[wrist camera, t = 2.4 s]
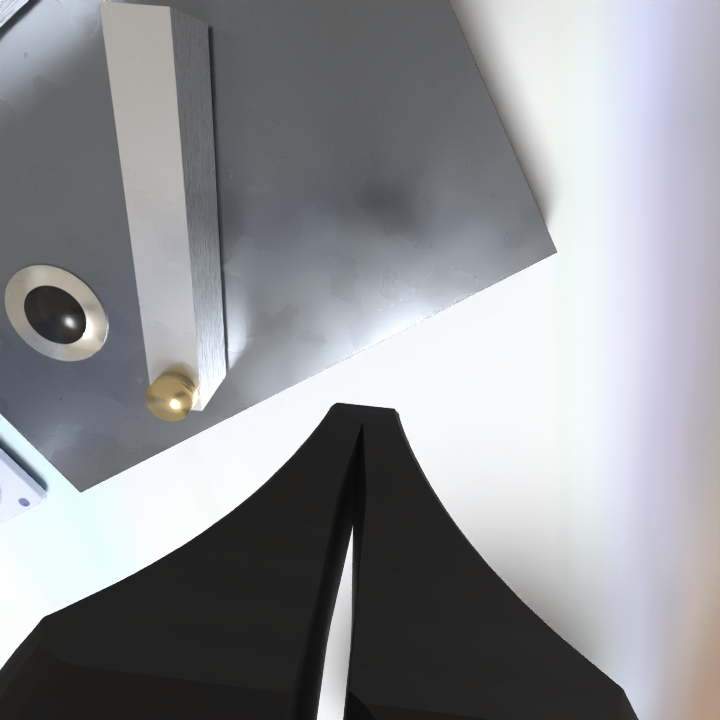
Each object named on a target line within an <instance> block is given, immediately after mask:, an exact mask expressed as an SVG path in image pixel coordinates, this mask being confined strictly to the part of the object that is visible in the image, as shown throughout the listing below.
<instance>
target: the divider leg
mask: <svg viewBox="0 0 720 720" xmlns="http://www.w3.org/2000/svg"><path fill="white" fill-rule="evenodd" d="M99 3H100V11H101V19H102V26H103V34H104V41H105V49H106V56H107V64H108V72H109V79H110V87H111V94H112V102H113V109H114V117H115V125H116V132H117V140H118V147H119V155H120V162H121V170H122V177H123V185H124V193H125V200H126V208H127V215H128V223H129V230H130V238H131V246H132V253H133V261H134V268H135V276H136V283H137V291H138V299H139V306H140V314H141V321H142V329H143V336H144V344H145V352H146V359H147V367H148V374H149V382H150V386H149V387H148V388H147V390H146V392H145V403H146V405H147V407H148V409H149V410H150V411H151V412H152V413H153V414H154V415H155V416H156V417H158V418H160V419H162V420H165V421H171V422H174V421H179V420H182V419H184V418H185V417H186V416H187V415H188V413H189V412H190V411H191V410H198V411H202V410H203V409H204V407H205V406H206V404H207V403H208V401H209V400H210V398H211V397H212V395H213V394H214V393H215V391H216V390H217V388H218V387H219V385H220V384H221V382H222V381H223V379H224V378H225V376H226V363H225V344H224V325H223V306H222V287H221V268H220V249H219V230H218V211H217V192H216V173H215V154H214V135H213V116H212V97H211V78H210V59H209V40H208V24H207V23H205V22H203V21H201V20H198V19H196V18H194V17H192V16H189V15H187V14H185V13H183V12H180V11H178V10H176V9H174V8H171V7H167V6H154V5H141V4H128V3H115V2H102V1H99Z"/></svg>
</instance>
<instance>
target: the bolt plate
mask: <svg viewBox="0 0 720 720" xmlns="http://www.w3.org/2000/svg"><path fill="white" fill-rule="evenodd" d="M99 1H102V2H115V3H128V4H141V5H154V6H167V7H171V8H174V9H176V10H178V11H180V12H183V13H185V14H187V15H189V16H192V17H194V18H196V19H198V20H201V21H203V22H205V23H207V24H208V40H209V59H210V78H211V97H212V116H213V135H214V154H215V173H216V192H217V211H218V230H219V249H220V268H221V287H222V306H223V325H224V344H225V363H226V376H225V378H224V379H223V381H222V382H221V384H220V385H219V387H218V388H217V390H216V391H215V393H214V394H213V395H212V397H211V398H210V400H209V401H208V403H207V404H206V406H205V407H204V409H203V410H202V411H198V410H191V411H190V412H189V413H188V415H187V416H186V417H185V418H184V419H182V420H179V421H174V422H171V421H165V420H162V419H160V418H158V417H156V416H155V415H154V414H153V413H152V412H151V411H150V410H149V409H148V407H147V405H146V403H145V392H146V390H147V388H148V387H149V386H150V382H149V374H148V367H147V359H146V352H145V344H144V336H143V329H142V321H141V314H140V306H139V299H138V291H137V283H136V276H135V268H134V261H133V253H132V246H131V238H130V230H129V223H128V215H127V208H126V200H125V193H124V185H123V177H122V170H121V162H120V155H119V147H118V140H117V132H116V125H115V117H114V109H113V102H112V94H111V87H110V79H109V72H108V64H107V56H106V49H105V41H104V34H103V26H102V19H101V11H100V3H99ZM555 253H557V250H556V248H555V246H554V243H553V241H552V239H551V236H550V234H549V232H548V229H547V227H546V225H545V223H544V220H543V218H542V216H541V213H540V211H539V209H538V206H537V204H536V202H535V199H534V197H533V195H532V192H531V190H530V188H529V185H528V183H527V181H526V179H525V176H524V174H523V172H522V169H521V167H520V165H519V162H518V160H517V158H516V155H515V153H514V151H513V148H512V146H511V144H510V141H509V139H508V137H507V135H506V132H505V130H504V128H503V125H502V123H501V121H500V118H499V116H498V114H497V111H496V109H495V107H494V104H493V102H492V100H491V97H490V95H489V93H488V91H487V88H486V86H485V84H484V81H483V79H482V77H481V74H480V72H479V70H478V67H477V65H476V63H475V60H474V58H473V56H472V53H471V51H470V49H469V47H468V44H467V42H466V40H465V37H464V35H463V33H462V30H461V28H460V26H459V23H458V21H457V19H456V16H455V14H454V12H453V9H452V7H451V5H450V3H449V0H0V414H1V415H2V416H3V417H4V418H5V419H6V420H7V421H9V422H10V423H11V424H12V425H13V426H14V427H15V428H16V429H17V430H18V431H19V432H20V433H21V434H22V435H23V436H24V437H25V438H26V439H27V440H28V441H29V442H30V443H31V444H32V445H33V446H34V447H35V448H36V449H37V450H38V451H39V452H40V453H41V454H42V455H43V456H44V457H45V458H46V459H47V460H48V461H49V462H50V463H51V464H52V465H53V466H54V467H55V468H56V469H57V470H58V471H59V472H60V473H61V474H62V475H63V476H64V477H65V478H66V479H67V480H68V481H69V482H70V483H71V484H72V485H73V486H74V487H75V488H76V489H77V490H78V491H79V492H80V493H81V492H83V491H85V490H87V489H89V488H91V487H93V486H95V485H97V484H99V483H101V482H103V481H105V480H107V479H109V478H111V477H113V476H115V475H117V474H119V473H121V472H123V471H124V470H126V469H128V468H130V467H132V466H134V465H136V464H138V463H140V462H142V461H144V460H146V459H148V458H150V457H152V456H154V455H156V454H158V453H160V452H162V451H164V450H166V449H168V448H170V447H172V446H174V445H176V444H178V443H180V442H182V441H184V440H186V439H188V438H190V437H192V436H194V435H196V434H198V433H200V432H202V431H204V430H206V429H208V428H210V427H212V426H214V425H216V424H218V423H220V422H222V421H224V420H226V419H228V418H230V417H232V416H234V415H236V414H237V413H239V412H241V411H243V410H245V409H247V408H249V407H251V406H253V405H255V404H257V403H259V402H261V401H263V400H265V399H267V398H269V397H271V396H273V395H275V394H277V393H279V392H281V391H283V390H285V389H287V388H289V387H291V386H293V385H295V384H297V383H299V382H301V381H303V380H305V379H307V378H309V377H311V376H313V375H315V374H317V373H319V372H321V371H323V370H325V369H327V368H329V367H331V366H333V365H335V364H337V363H339V362H341V361H343V360H345V359H347V358H349V357H350V356H352V355H354V354H356V353H358V352H360V351H362V350H364V349H366V348H368V347H370V346H372V345H374V344H376V343H378V342H380V341H382V340H384V339H386V338H388V337H390V336H392V335H394V334H396V333H398V332H400V331H402V330H404V329H406V328H408V327H410V326H412V325H414V324H416V323H418V322H420V321H422V320H424V319H426V318H428V317H430V316H432V315H434V314H436V313H438V312H440V311H442V310H444V309H446V308H448V307H450V306H452V305H454V304H456V303H458V302H460V301H462V300H463V299H465V298H467V297H469V296H471V295H473V294H475V293H477V292H479V291H481V290H483V289H485V288H487V287H489V286H491V285H493V284H495V283H497V282H499V281H501V280H503V279H505V278H507V277H509V276H511V275H513V274H515V273H517V272H519V271H521V270H523V269H525V268H527V267H529V266H531V265H533V264H535V263H537V262H539V261H541V260H543V259H545V258H547V257H549V256H551V255H553V254H555Z"/></svg>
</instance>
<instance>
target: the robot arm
mask: <svg viewBox="0 0 720 720" xmlns="http://www.w3.org/2000/svg"><path fill="white" fill-rule="evenodd" d="M46 497H47V495H46V492H45V491H44V489H43V488H42V487H41V486H40V485H39V484H37V483H36V482H35V481H34V480H33V479H32V478H31V477H30V476H29V475H28V474H27V473H26V472H25V471H24V470H23V469H22V468H21V467H20V466H19V465H18V464H17V463H16V462H14V461H13V460H12V459H11V458H10V457H9V456H8V455H7V454H6V453H5V452H4V451H3V450H2V449H1V448H0V525H2V524H4V523H6V522H8V521H10V520H12V519H14V518H16V517H18V516H20V515H22V514H24V513H26V512H28V511H30V510H31V509H33V508H35V507H37V506H39V505H41V504H42V503H43V502H44V501H45V499H46ZM352 527H353V563H352V627H351V646H350V658H349V668H348V677H347V687H346V697H345V707H344V717H343V720H638V718H637V716H636V714H635V712H634V710H633V708H632V706H631V704H630V702H629V700H628V698H627V696H626V694H625V692H624V690H623V689H622V688H621V687H620V686H619V685H618V684H616V683H615V682H614V681H613V680H612V679H610V678H609V677H608V676H607V675H606V674H604V673H603V672H602V671H601V670H599V669H598V668H597V667H596V666H595V665H593V664H592V663H591V662H590V661H589V660H587V659H586V658H585V657H584V656H583V655H581V654H580V653H579V652H578V651H577V650H575V649H574V648H573V647H572V646H571V645H569V644H568V643H567V642H566V641H565V640H563V639H562V638H561V637H560V636H559V635H558V634H557V633H555V632H554V631H553V630H552V629H551V628H550V627H549V626H548V625H547V624H546V623H545V622H544V621H543V620H541V619H540V618H539V617H538V616H537V615H536V614H535V613H534V612H533V611H532V610H531V609H530V608H529V607H528V606H527V605H526V604H524V603H523V602H522V601H521V600H520V599H519V597H518V596H517V595H516V594H515V593H514V592H513V591H512V590H511V589H510V588H509V587H508V586H507V585H506V584H505V582H504V581H503V580H502V579H501V578H500V577H499V576H498V575H497V574H496V573H495V572H494V571H493V570H492V569H491V567H490V566H489V565H488V564H487V563H486V562H485V561H484V559H483V558H482V557H481V556H480V554H479V553H478V552H477V551H476V550H475V548H474V547H473V546H472V545H471V543H470V542H469V541H468V540H467V538H466V537H465V536H464V534H463V533H462V532H461V530H460V529H459V528H458V526H457V525H456V524H455V522H454V521H453V519H452V518H451V517H450V515H449V514H448V512H447V511H446V509H445V508H444V506H443V505H442V503H441V501H440V500H439V498H438V497H437V495H436V493H435V492H434V490H433V489H432V487H431V485H430V483H429V482H428V480H427V478H426V476H425V475H424V473H423V471H422V469H421V467H420V465H419V463H418V461H417V459H416V457H415V455H414V453H413V451H412V449H411V447H410V444H409V442H408V440H407V437H406V435H405V432H404V430H403V427H402V424H401V421H400V417H399V414H398V413H397V411H396V410H395V409H392V408H382V407H373V406H364V405H354V404H345V403H336V404H334V405H333V406H331V408H330V409H329V411H328V413H327V414H326V416H325V417H324V418H323V420H322V421H321V423H320V424H319V425H318V427H317V428H316V429H315V430H314V432H313V433H312V434H311V435H310V437H309V438H308V439H307V440H306V441H305V442H304V443H303V445H302V446H301V447H300V448H299V449H298V450H297V451H296V453H295V454H294V455H293V456H292V457H291V458H290V459H289V460H288V461H287V462H286V463H285V464H284V465H283V466H282V467H281V468H280V469H279V470H278V471H277V472H276V473H275V474H274V475H273V476H272V477H271V478H270V479H269V480H268V481H267V482H266V483H265V484H264V485H262V486H261V487H260V488H259V489H258V490H257V491H256V492H255V493H253V494H252V495H251V496H250V497H249V498H247V499H246V500H245V501H244V502H243V503H241V504H240V505H239V506H238V507H236V508H235V509H234V510H233V511H231V512H230V513H229V514H227V515H226V516H225V517H223V518H222V519H220V520H219V521H218V522H216V523H215V524H214V525H212V526H211V527H209V528H208V529H207V530H205V531H204V532H202V533H201V534H199V535H198V536H196V537H195V538H194V539H192V540H191V541H189V542H187V543H186V544H184V545H183V546H181V547H180V548H178V549H176V550H174V551H173V552H171V553H169V554H168V555H166V556H164V557H163V558H161V559H159V560H158V561H156V562H154V563H152V564H151V565H149V566H147V567H145V568H144V569H142V570H140V571H138V572H136V573H135V574H133V575H131V576H129V577H127V578H125V579H123V580H121V581H119V582H117V583H115V584H113V585H111V586H109V587H107V588H105V589H103V590H101V591H99V592H96V593H94V594H92V595H90V596H88V597H86V598H84V599H82V600H80V601H78V602H76V603H74V604H71V605H69V606H67V607H65V608H63V609H61V610H59V611H56V612H54V613H52V614H50V615H47V616H45V617H43V618H42V620H41V621H40V622H39V623H38V625H37V626H36V627H35V628H34V630H33V631H32V632H31V633H30V634H29V635H28V636H27V638H26V639H25V640H24V641H23V642H22V643H21V644H20V646H19V647H18V648H17V649H16V650H15V652H14V653H13V654H12V655H11V657H10V658H9V659H8V661H7V662H6V663H5V665H4V666H3V667H2V669H1V670H0V720H317V713H318V706H319V698H320V691H321V684H322V676H323V669H324V662H325V654H326V647H327V641H328V636H329V631H330V625H331V620H332V616H333V611H334V607H335V603H336V598H337V594H338V589H339V585H340V581H341V576H342V572H343V567H344V563H345V558H346V554H347V550H348V545H349V541H350V536H351V532H352Z"/></svg>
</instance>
